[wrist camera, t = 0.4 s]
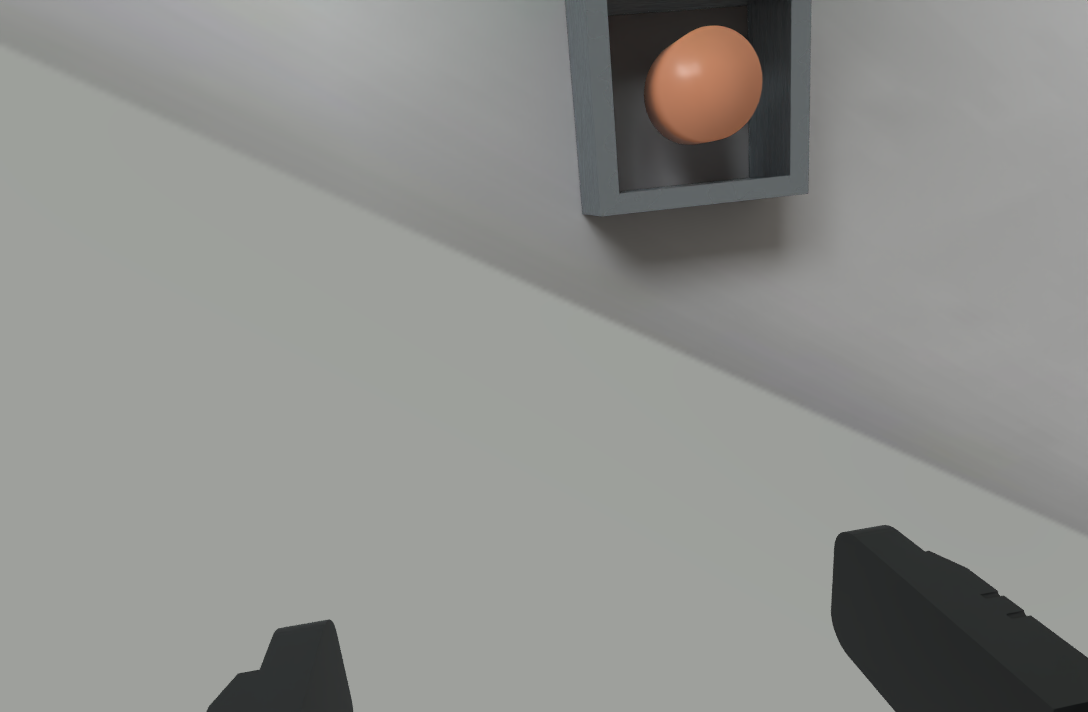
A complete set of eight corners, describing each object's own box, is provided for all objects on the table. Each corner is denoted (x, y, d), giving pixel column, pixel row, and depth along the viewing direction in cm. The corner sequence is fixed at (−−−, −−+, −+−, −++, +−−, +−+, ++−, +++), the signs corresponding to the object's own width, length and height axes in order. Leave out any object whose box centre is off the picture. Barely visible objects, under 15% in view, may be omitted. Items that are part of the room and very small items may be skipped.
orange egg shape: (641, 42, 30) (657, 29, 28) (737, 35, 31) (762, 21, 28) (646, 149, 32) (662, 145, 29) (739, 140, 32) (762, 135, 30)
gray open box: (564, -3, 32) (582, -34, 28) (764, -17, 33) (811, -48, 29) (582, 213, 35) (601, 216, 31) (765, 193, 36) (808, 193, 32)
